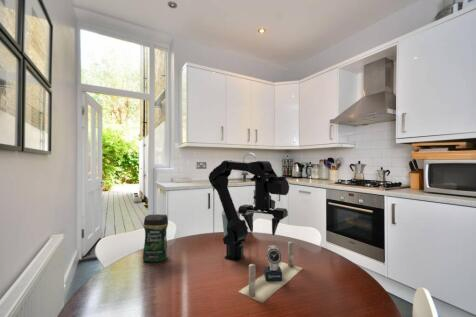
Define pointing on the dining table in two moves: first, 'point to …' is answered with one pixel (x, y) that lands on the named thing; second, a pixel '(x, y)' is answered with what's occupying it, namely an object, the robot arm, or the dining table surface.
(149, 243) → the coffee jar
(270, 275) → the watch
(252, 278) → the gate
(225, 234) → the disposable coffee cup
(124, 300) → the dining table surface
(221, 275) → the dining table surface
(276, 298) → the dining table surface
